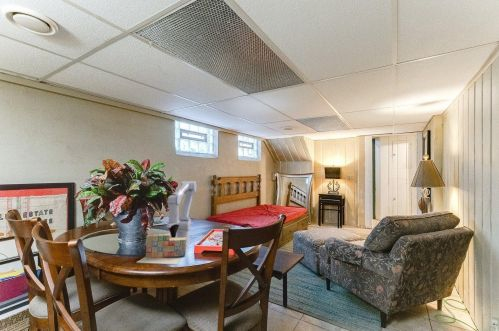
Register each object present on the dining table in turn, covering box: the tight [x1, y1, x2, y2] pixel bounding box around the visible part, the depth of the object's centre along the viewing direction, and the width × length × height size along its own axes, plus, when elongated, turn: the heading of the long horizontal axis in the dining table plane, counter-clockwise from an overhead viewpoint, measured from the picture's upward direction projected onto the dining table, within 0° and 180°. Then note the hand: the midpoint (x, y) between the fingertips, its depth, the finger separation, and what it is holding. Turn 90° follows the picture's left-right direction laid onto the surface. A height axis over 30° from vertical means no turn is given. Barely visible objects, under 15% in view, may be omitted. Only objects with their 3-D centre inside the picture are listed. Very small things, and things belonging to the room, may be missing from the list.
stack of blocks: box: [145, 232, 187, 258], centre depth 134 cm, size 21×6×12 cm, turn 101°
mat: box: [135, 256, 183, 266], centre depth 126 cm, size 8×22×1 cm, turn 83°
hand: (173, 237), depth 143 cm, fingers closed
